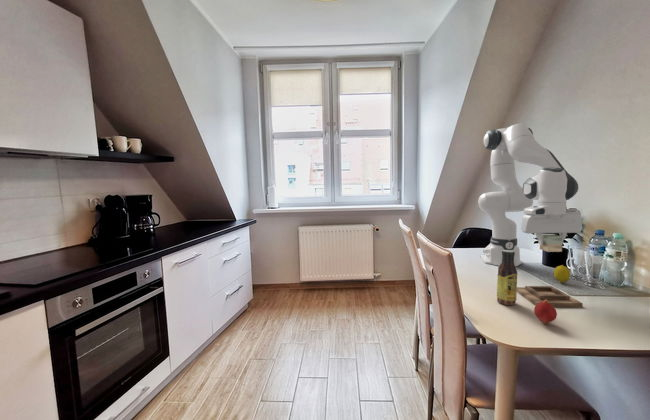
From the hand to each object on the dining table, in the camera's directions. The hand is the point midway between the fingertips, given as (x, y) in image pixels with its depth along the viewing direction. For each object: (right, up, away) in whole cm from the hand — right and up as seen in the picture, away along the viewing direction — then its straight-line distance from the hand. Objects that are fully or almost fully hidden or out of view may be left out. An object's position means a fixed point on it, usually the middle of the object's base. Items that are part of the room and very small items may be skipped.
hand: (550, 244), depth 113 cm
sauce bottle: (-20, -22, -5) cm, 30 cm away
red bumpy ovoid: (-18, -23, -21) cm, 36 cm away
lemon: (+14, -19, +12) cm, 26 cm away
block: (0, -2, 0) cm, 2 cm away
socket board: (-4, -21, -3) cm, 21 cm away
